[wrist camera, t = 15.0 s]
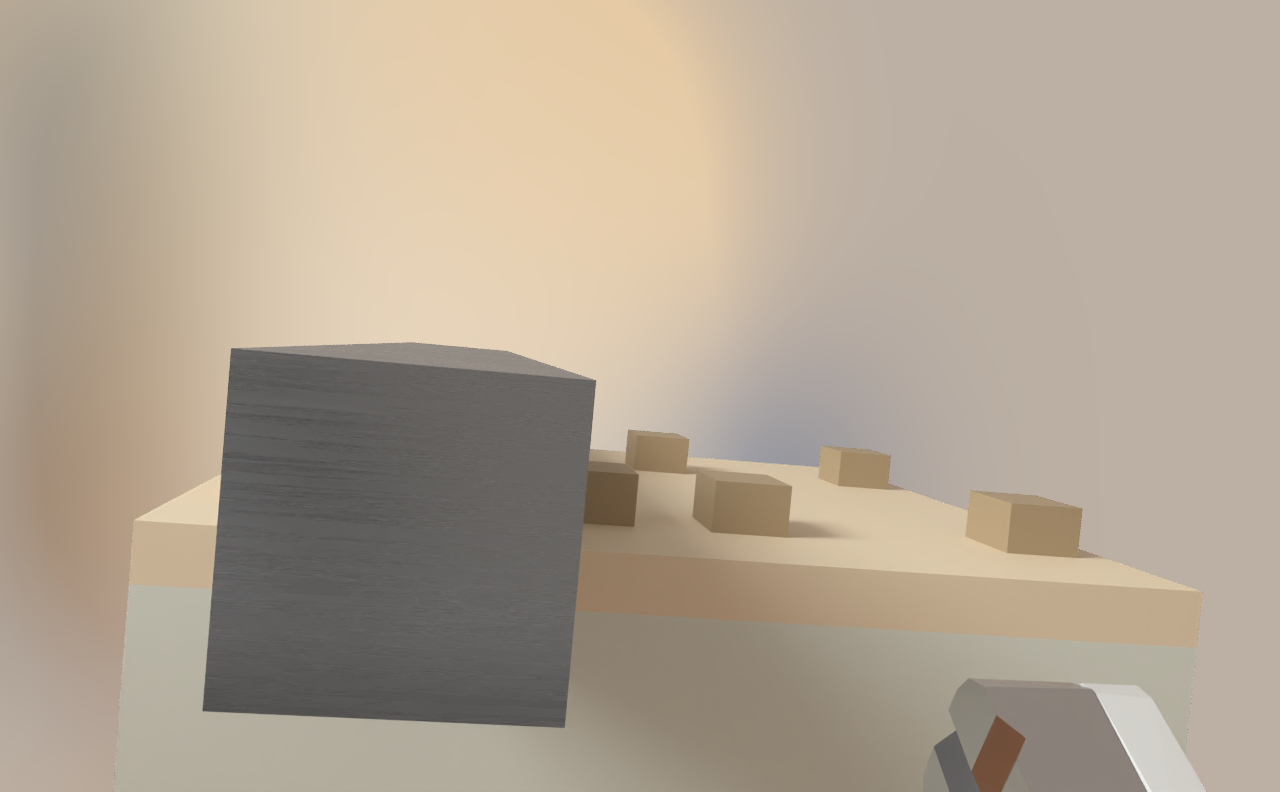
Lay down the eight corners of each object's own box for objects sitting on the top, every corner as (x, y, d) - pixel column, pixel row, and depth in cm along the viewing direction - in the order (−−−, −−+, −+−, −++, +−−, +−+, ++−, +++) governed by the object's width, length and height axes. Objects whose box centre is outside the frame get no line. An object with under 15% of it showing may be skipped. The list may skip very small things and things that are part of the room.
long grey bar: (565, 727, 10) (596, 379, 10) (201, 711, 10) (231, 349, 10) (499, 444, 38) (507, 351, 38) (403, 437, 37) (411, 342, 37)
